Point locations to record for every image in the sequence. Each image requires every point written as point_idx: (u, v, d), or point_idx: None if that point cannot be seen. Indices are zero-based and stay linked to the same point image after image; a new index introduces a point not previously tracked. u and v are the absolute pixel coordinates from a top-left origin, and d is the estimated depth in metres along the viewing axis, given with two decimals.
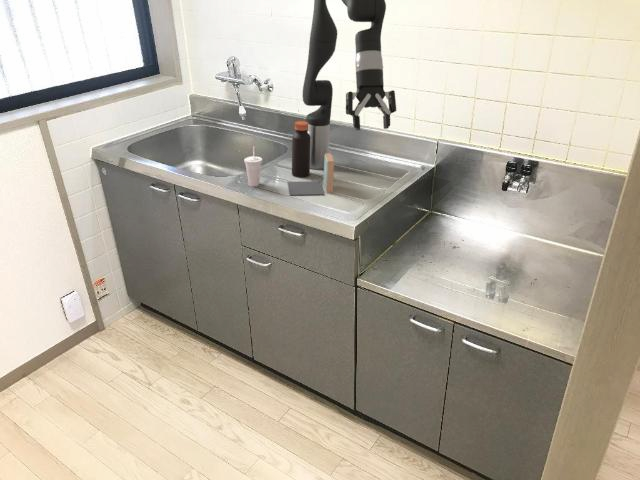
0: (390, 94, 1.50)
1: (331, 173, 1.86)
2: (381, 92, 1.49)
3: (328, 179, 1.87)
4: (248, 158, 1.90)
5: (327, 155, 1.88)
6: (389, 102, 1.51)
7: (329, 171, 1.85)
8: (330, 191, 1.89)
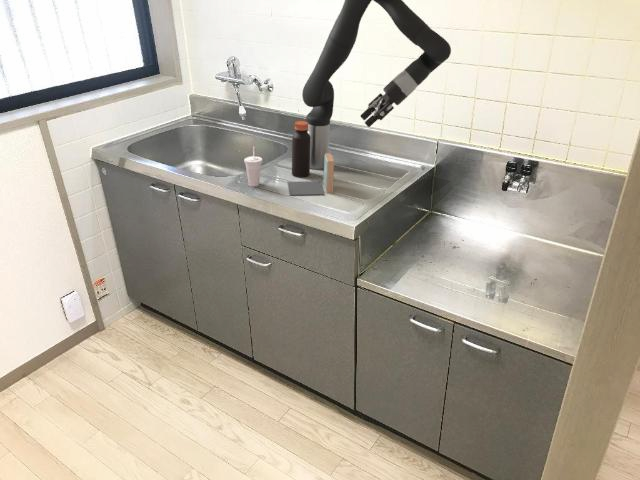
0: None
1: (331, 173, 1.86)
2: None
3: (328, 179, 1.87)
4: (248, 158, 1.90)
5: (327, 155, 1.88)
6: None
7: (329, 171, 1.85)
8: (330, 191, 1.89)
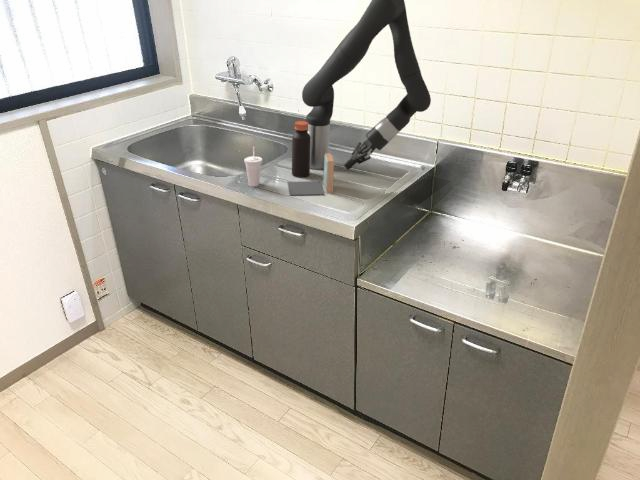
0: None
1: (331, 173, 1.86)
2: None
3: (328, 179, 1.87)
4: (248, 158, 1.90)
5: (327, 155, 1.88)
6: None
7: (329, 171, 1.85)
8: (330, 191, 1.89)
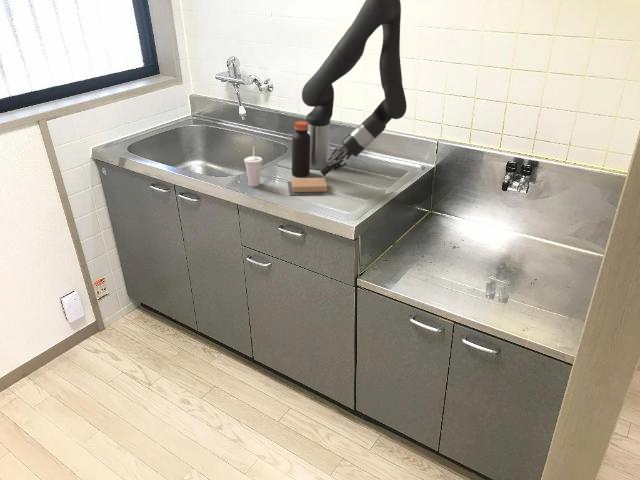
0: None
1: (306, 188, 1.87)
2: None
3: (312, 190, 1.88)
4: (248, 158, 1.90)
5: (291, 184, 1.92)
6: None
7: (303, 190, 1.87)
8: (325, 188, 1.88)
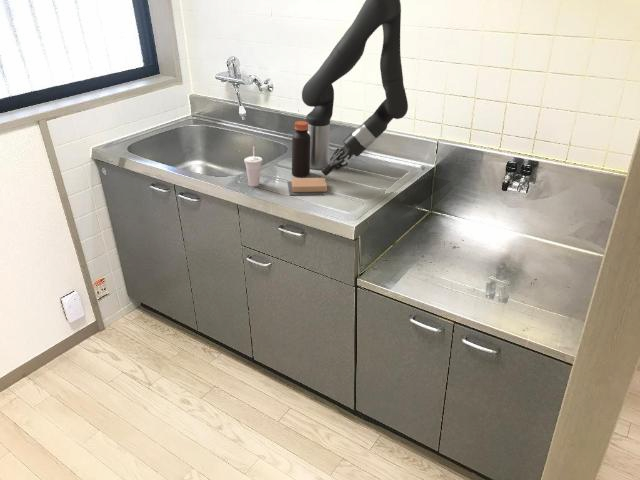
0: None
1: (306, 188, 1.87)
2: None
3: (312, 190, 1.88)
4: (248, 158, 1.90)
5: (291, 184, 1.92)
6: None
7: (303, 190, 1.87)
8: (325, 188, 1.88)
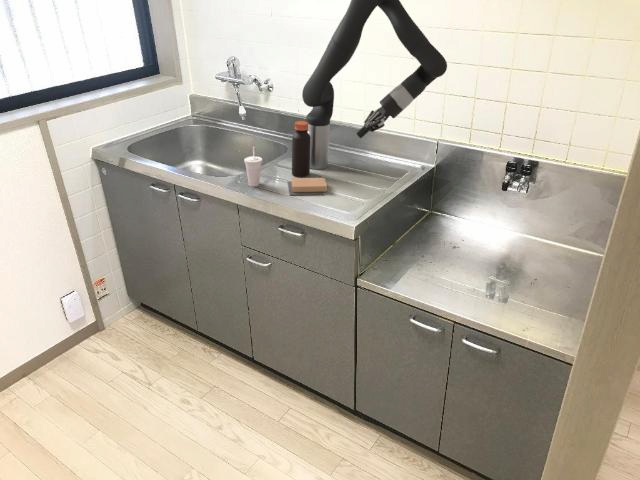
0: None
1: (306, 188, 1.87)
2: None
3: (312, 190, 1.88)
4: (248, 158, 1.90)
5: (291, 184, 1.92)
6: None
7: (303, 190, 1.87)
8: (325, 188, 1.88)
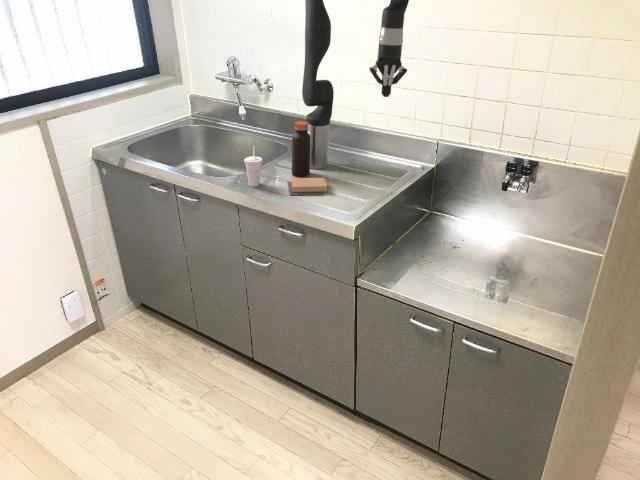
0: (402, 70, 1.76)
1: (306, 188, 1.87)
2: (398, 63, 1.75)
3: (312, 190, 1.88)
4: (248, 158, 1.90)
5: (291, 184, 1.92)
6: (397, 74, 1.78)
7: (303, 190, 1.87)
8: (325, 188, 1.88)
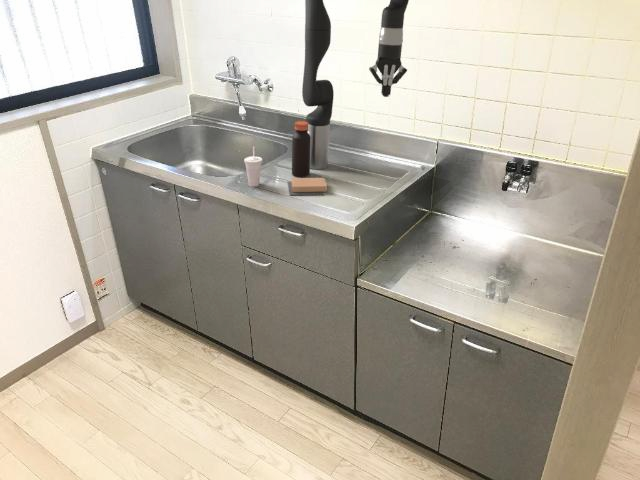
0: (402, 70, 1.76)
1: (306, 188, 1.87)
2: (398, 63, 1.75)
3: (312, 190, 1.88)
4: (248, 158, 1.90)
5: (291, 184, 1.92)
6: (397, 74, 1.78)
7: (303, 190, 1.87)
8: (325, 188, 1.88)
